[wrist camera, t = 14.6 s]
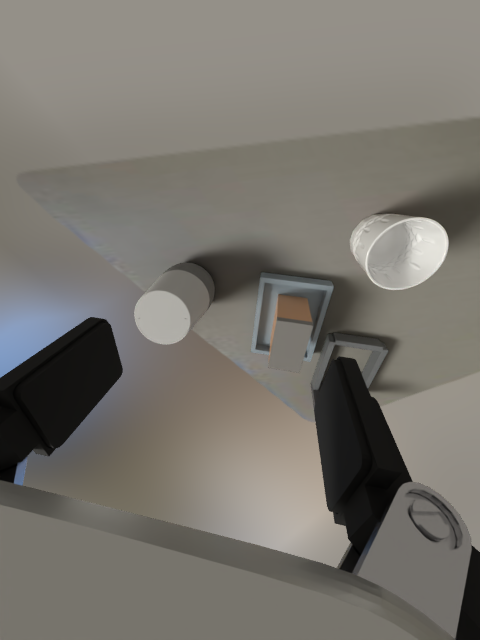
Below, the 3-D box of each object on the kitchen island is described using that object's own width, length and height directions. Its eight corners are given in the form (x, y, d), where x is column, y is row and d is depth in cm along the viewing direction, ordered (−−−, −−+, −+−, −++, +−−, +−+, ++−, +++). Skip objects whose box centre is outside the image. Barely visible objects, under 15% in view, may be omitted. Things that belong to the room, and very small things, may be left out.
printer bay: (384, 339, 41) (410, 379, 33) (357, 392, 48) (373, 435, 40) (328, 331, 42) (339, 368, 34) (310, 383, 49) (316, 424, 41)
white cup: (356, 205, 31) (383, 212, 23) (415, 212, 31) (466, 222, 22) (338, 260, 35) (355, 284, 27) (390, 268, 35) (424, 294, 26)
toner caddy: (307, 298, 39) (313, 325, 31) (296, 340, 43) (299, 373, 36) (278, 294, 39) (276, 320, 32) (270, 336, 44) (268, 367, 36)
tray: (331, 280, 37) (333, 286, 35) (309, 353, 45) (310, 361, 43) (261, 272, 38) (260, 277, 36) (252, 344, 47) (250, 352, 44)
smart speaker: (214, 257, 39) (184, 289, 27) (221, 305, 43) (198, 351, 31) (163, 259, 40) (114, 290, 28) (175, 305, 45) (137, 349, 33)
